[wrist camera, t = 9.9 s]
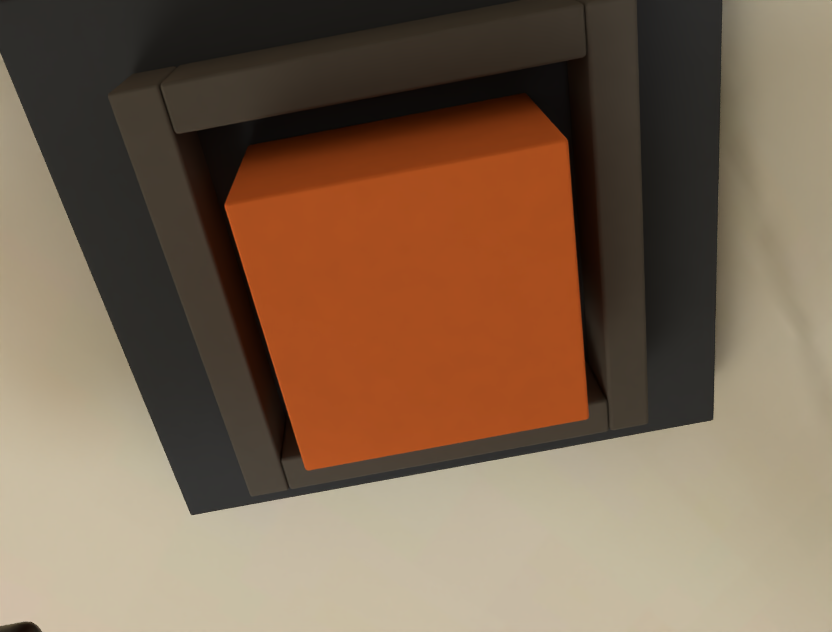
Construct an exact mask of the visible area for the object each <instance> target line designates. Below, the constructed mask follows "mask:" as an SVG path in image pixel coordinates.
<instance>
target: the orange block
mask: <svg viewBox="0 0 832 632" xmlns="http://www.w3.org/2000/svg"><path fill="white" fill-rule="evenodd" d="M225 210H226V213H227V216H228V219H229V223H230V226H231V229H232V232H233V236H234V239H235V242H236V245H237V249H238V252H239V255H240V258H241V262H242V265H243V268H244V271H245V275H246V278H247V281H248V284H249V288H250V291H251V294H252V298H253V301H254V304H255V307H256V311H257V314H258V317H259V320H260V324H261V327H262V330H263V333H264V337H265V340H266V343H267V346H268V350H269V353H270V356H271V359H272V363H273V366H274V369H275V372H276V376H277V379H278V382H279V385H280V389H281V392H282V395H283V398H284V402H285V405H286V408H287V411H288V415H289V418H290V421H291V424H292V428H293V431H294V434H295V437H296V441H297V444H298V447H299V450H300V454H301V457H302V460H303V463H304V467H305V469H306V470H314V469H320V468H325V467H330V466H336V465H341V464H347V463H352V462H358V461H363V460H368V459H374V458H379V457H385V456H390V455H396V454H401V453H407V452H412V451H417V450H423V449H428V448H434V447H439V446H445V445H450V444H455V443H461V442H466V441H472V440H477V439H483V438H488V437H494V436H499V435H504V434H510V433H515V432H521V431H526V430H532V429H537V428H542V427H548V426H553V425H559V424H564V423H570V422H575V421H581V420H586V419H588V417H589V409H588V396H587V383H586V370H585V357H584V344H583V330H582V317H581V304H580V291H579V278H578V265H577V251H576V238H575V225H574V212H573V199H572V186H571V172H570V159H569V146H568V140H567V138H566V137H565V136H564V135H563V134H562V133H561V132H560V131H559V130H558V128H557V127H556V126H555V125H554V124H553V123H552V122H551V121H550V120H549V118H548V117H547V116H546V115H545V114H544V113H543V112H542V111H541V110H540V108H539V107H538V106H537V105H536V104H535V103H534V102H533V101H532V100H531V98H530V97H529V96H528V95H527V94H525V93H522V94H516V95H511V96H506V97H501V98H495V99H490V100H485V101H480V102H474V103H469V104H464V105H459V106H453V107H448V108H443V109H438V110H432V111H427V112H422V113H416V114H411V115H406V116H401V117H395V118H390V119H385V120H380V121H374V122H369V123H364V124H359V125H353V126H348V127H343V128H338V129H332V130H327V131H322V132H317V133H311V134H306V135H301V136H295V137H290V138H285V139H280V140H274V141H269V142H264V143H259V144H253V145H249V146H248V147H247V150H246V152H245V155H244V157H243V160H242V162H241V165H240V167H239V170H238V172H237V175H236V177H235V179H234V182H233V184H232V187H231V189H230V192H229V194H228V197H227V199H226V202H225Z"/></svg>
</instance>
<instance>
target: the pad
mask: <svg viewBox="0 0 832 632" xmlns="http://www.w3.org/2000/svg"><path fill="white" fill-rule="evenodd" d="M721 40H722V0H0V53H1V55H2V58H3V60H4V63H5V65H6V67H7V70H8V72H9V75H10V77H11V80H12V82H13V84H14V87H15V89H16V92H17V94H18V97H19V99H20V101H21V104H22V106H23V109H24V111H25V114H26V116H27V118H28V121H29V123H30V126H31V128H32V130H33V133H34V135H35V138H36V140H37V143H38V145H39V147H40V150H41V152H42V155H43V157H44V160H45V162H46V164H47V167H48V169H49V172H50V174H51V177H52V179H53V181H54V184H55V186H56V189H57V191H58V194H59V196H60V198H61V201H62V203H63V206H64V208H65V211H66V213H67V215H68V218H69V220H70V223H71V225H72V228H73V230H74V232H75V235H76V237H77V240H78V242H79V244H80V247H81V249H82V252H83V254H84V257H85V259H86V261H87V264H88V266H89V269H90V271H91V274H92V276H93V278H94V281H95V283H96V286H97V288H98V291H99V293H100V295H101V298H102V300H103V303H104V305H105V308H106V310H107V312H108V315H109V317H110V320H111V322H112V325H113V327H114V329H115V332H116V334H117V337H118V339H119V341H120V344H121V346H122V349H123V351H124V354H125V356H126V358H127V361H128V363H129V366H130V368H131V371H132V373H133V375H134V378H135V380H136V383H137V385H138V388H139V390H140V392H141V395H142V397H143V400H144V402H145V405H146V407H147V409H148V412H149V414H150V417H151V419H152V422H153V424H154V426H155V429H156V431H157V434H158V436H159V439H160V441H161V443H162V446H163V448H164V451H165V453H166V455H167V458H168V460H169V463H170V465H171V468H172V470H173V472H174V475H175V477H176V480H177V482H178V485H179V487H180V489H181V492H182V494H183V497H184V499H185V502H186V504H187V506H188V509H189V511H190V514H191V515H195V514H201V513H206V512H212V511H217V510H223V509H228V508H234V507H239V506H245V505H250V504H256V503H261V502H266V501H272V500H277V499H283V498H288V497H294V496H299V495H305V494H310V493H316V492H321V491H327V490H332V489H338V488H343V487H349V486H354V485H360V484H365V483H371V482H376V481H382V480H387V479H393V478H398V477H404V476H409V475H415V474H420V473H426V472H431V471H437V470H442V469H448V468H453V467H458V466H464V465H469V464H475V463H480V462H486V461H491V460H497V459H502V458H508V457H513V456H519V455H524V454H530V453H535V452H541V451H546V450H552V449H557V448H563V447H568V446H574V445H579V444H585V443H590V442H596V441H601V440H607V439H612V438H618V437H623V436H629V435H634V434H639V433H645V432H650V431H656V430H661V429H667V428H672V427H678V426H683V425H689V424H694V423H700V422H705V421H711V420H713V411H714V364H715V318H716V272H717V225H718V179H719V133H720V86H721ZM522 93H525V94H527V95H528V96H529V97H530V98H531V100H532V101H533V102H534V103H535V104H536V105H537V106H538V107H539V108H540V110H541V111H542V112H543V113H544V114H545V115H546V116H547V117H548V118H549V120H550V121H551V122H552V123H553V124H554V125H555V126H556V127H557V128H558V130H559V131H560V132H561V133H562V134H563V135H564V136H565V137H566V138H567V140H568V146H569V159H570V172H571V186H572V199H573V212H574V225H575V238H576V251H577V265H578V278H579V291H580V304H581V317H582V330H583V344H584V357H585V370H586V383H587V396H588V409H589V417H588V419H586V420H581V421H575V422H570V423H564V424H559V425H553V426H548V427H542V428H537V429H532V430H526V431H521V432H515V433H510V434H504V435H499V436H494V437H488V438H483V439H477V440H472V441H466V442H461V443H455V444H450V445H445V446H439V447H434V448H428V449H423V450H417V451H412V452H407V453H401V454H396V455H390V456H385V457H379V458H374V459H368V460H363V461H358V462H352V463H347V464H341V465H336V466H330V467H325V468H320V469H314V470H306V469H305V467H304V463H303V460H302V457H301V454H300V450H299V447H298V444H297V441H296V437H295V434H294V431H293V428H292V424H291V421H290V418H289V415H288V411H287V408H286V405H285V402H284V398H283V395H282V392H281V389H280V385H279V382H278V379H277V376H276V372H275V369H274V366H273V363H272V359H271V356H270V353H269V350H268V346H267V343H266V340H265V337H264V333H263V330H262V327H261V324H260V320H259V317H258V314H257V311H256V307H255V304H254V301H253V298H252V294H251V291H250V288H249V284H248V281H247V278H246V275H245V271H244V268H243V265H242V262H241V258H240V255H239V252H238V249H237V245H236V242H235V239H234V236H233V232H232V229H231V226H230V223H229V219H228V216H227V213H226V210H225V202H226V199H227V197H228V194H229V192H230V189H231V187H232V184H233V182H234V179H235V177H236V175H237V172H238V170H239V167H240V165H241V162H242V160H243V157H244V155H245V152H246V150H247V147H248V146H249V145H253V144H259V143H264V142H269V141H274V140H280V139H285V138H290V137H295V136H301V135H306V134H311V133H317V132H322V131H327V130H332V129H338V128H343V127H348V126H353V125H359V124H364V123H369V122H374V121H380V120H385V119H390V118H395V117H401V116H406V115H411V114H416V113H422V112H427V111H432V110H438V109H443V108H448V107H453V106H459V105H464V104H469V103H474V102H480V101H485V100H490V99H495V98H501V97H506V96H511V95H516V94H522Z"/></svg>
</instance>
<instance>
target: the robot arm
mask: <svg viewBox="0 0 832 632" xmlns="http://www.w3.org/2000/svg"><path fill="white" fill-rule="evenodd" d="M0 632H42V631H41V629H40V628H39V627H38V626H37V625H35V624H34V623H32V622H21V623H15V624H10V625H4V626H0Z"/></svg>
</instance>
